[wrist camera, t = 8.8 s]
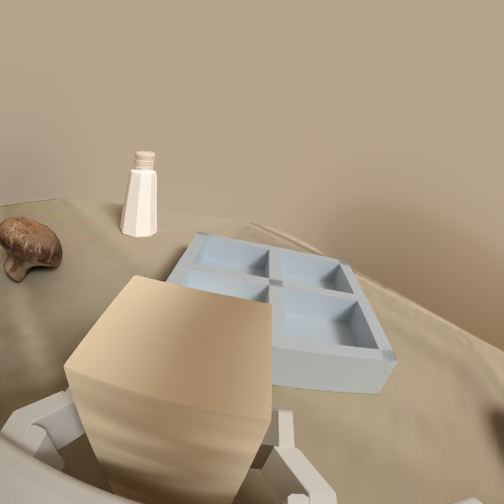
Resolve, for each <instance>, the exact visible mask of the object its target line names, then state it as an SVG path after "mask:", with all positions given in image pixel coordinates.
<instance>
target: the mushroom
mask: <svg viewBox="0 0 504 504" xmlns="http://www.w3.org/2000/svg"><path fill="white" fill-rule="evenodd" d="M0 245H1V246H2V247H3V248H4V249H5V250H6V252H7V254H8V258H7V260H6V262H5V263H4V265H3V266H4V270H5V272H6V273H7V274H8V275H9V276H10V277H11V278H12V279H14V280H16V281H22V280H23V279H24V277H25V275H26V274H27V272H28V271H29V270H30V269H31V268H32V267H33V266H49V267H56V266H57V265H58V264H59V263H60V262H61V259H62V248H61V244H60V241H59V239H58V238H57V236H56V234H55V233H54V232H53V231H52V230H51V229H49V228H48V227H47V226H45V225H42V224H40V223H38V222H35V221H33V220H30V219H28V218H25V217H12V218H9V219H6V220H5V221H3V222H2V223H1V224H0Z"/></svg>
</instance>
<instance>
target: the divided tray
mask: <svg viewBox="0 0 504 504" xmlns="http://www.w3.org/2000/svg"><path fill="white" fill-rule="evenodd" d="M166 282H167V283H171V284H176V285H180V286H185V287H190V288H194V289H199V290H203V291H208V292H213V293H218V294H223V295H228V296H233V297H238V298H243V299H248V300H253V301H258V302H263V303H269V304H272V385H277V386H285V387H293V388H301V389H311V390H321V391H332V392H346V393H364V394H378V393H379V391H380V390H381V388H382V387H383V385H384V383H385V382H386V380H387V378H388V377H389V375H390V374H391V372H392V370H393V368H394V367H395V365H396V363H397V362H398V360H397V358H396V356H395V354H394V352H393V350H392V348H391V346H390V343H389V341H388V339H387V337H386V335H385V333H384V331H383V329H382V327H381V325H380V323H379V321H378V319H377V317H376V315H375V313H374V311H373V309H372V307H371V305H370V303H369V301H368V300H367V298H366V296H365V294H364V292H363V290H362V288H361V286H360V284H359V283H358V281H357V279H356V277H355V275H354V273H353V271H352V270H351V268H350V266H349V264H348V263H347V261H343V260H338V259H334V258H329V257H324V256H319V255H314V254H309V253H304V252H299V251H294V250H289V249H284V248H279V247H274V246H269V245H264V244H259V243H254V242H249V241H244V240H239V239H233V238H228V237H223V236H218V235H213V234H208V233H203V232H198V233H197V235H196V236H195V238H194V239H193V241H192V242H191V244H190V245H189V247H188V248H187V250H186V251H185V253H184V254H183V256H182V257H181V259H180V260H179V262H178V263H177V265H176V266H175V268H174V269H173V271H172V273H171V274H170V276H169V277H168V279H167V280H166Z"/></svg>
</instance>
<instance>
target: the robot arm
mask: <svg viewBox="0 0 504 504" xmlns="http://www.w3.org/2000/svg"><path fill="white" fill-rule="evenodd" d="M84 433H86V432H85V429H84V427H83V424H82V422H81V419H80V416H79V413H78V411H77V408H76V405H75V402H74V399H73V396H72V393H71V390H70V387H68V388H67V390H66V391H65V392H64V391H60V392H58V393H55V394H53V395H51V396H48V397H46V398H44V399H41V400H39V401H37V402H34V403H32V404H30V405H27V406H25V407H22V408H20V409H17V410H15V411H14V412H13V413H12V415H11V416H10V417H9V419H8V420H7V422H6V423H5V425H4V426H3V428H2V429H1V431H0V504H142V503H139V502H136V501H133V500H129V499H126V498H123V497H121V496H118V495H115V494H112V493H109V492H107V491H104V490H102V489H99V488H97V487H94V486H92V485H89V484H87V483H85V482H82V481H80V480H78V479H75V478H73V477H71V476H69V475H67V474H65V473H63V472H62V470H63V467H64V465H65V463H64V461H63V459H62V458H61V456H60V455H59V453H58V450H59V449H61V448H62V447H64V446H66V445H67V444H69V443H70V442H72V441H73V440H75V439H77V438H78V437H80V436H81V435H83V434H84ZM250 468H254V469H261V472H262V473H263V475H264V477H265V478H266V480H267V482H268V484H269V485H270V487H271V488H272V490H273V492H274V493H275V495H276V497H277V498H278V500H279V501H280V503H281V504H337V500H336V493H335V492H334V490H333V489H332V488H331V487H330V486H329V485H328V483H327V482H326V481H325V480H324V479H323V478H322V476H321V475H320V474H319V473H318V472H317V470H316V469H315V468H314V467H313V466H312V464H311V463H310V462H309V461H308V460H307V458H306V457H305V456H304V455H303V453H302V452H301V451H300V450H299V448H294V429H293V413H292V411H290V410H281V409H275V408H272V415H271V423H270V425H269V427H268V429H267V432H266V434H265V436H264V438H263V440H262V443H261V445H260V447H259V449H258V451H257V453H256V456H255V458H254V460H253V462H252V464H251V466H250ZM447 504H483V503H482V502H481V501H479V500H478V499H476V498H474V497H465V498H462V499H459V500H456V501H453V502H450V503H447Z"/></svg>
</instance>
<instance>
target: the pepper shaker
mask: <svg viewBox="0 0 504 504" xmlns="http://www.w3.org/2000/svg"><path fill="white" fill-rule="evenodd" d="M155 155H156V154H155V153H153V152H148V151H138V152H136V153H135V166H134V167H135V168H134V169H131V170H130V172H129V177H128V182H127V187H126V193H125V199H124V204H123V211H122V217H121V224H120V229H121V231H122V233H123V234H124V235H128V236H131V237H135V238H138V237H150V236H152V235H153V234H155V233H156V232H157V173H156V172H155V171H154V170H153V164H154V159H155Z"/></svg>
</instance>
